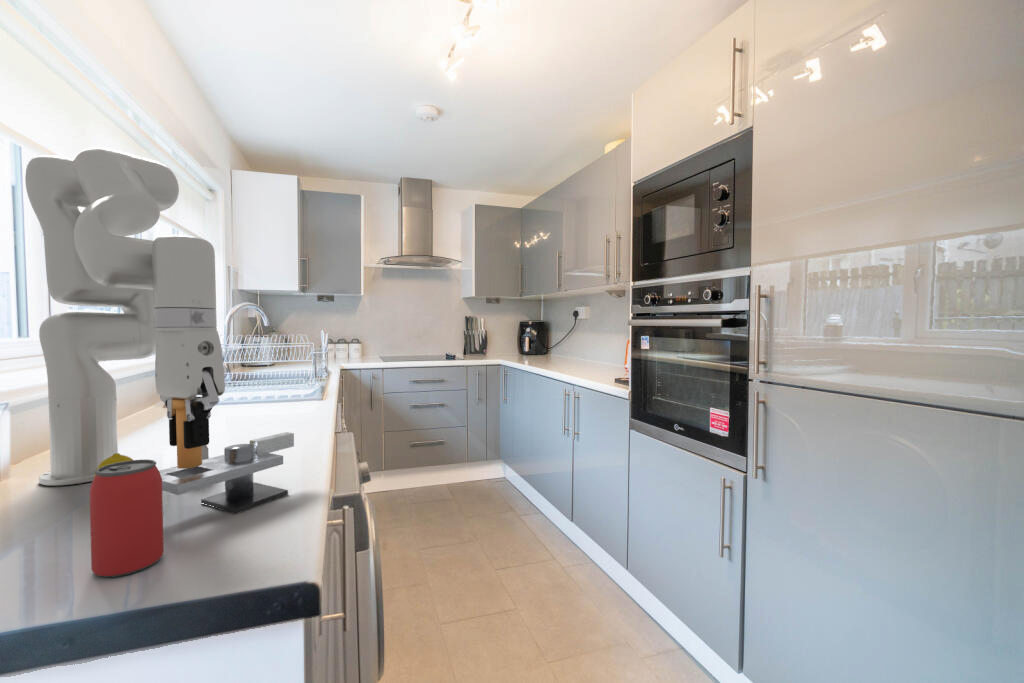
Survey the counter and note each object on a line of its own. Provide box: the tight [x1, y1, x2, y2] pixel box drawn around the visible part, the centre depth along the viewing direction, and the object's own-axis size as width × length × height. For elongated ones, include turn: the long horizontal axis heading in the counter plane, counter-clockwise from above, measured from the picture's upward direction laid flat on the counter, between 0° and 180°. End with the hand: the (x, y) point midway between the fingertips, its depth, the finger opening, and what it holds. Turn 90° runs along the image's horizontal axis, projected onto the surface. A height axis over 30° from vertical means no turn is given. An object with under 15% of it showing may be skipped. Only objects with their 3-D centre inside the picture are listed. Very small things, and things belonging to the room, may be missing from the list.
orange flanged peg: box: [172, 396, 202, 469], centre depth 67 cm, size 4×4×10 cm
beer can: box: [88, 459, 165, 578], centre depth 54 cm, size 7×7×12 cm
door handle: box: [159, 431, 295, 515], centre depth 73 cm, size 10×21×9 cm, turn 153°
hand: (189, 444), depth 67 cm, fingers closed on orange flanged peg, 3 cm apart
